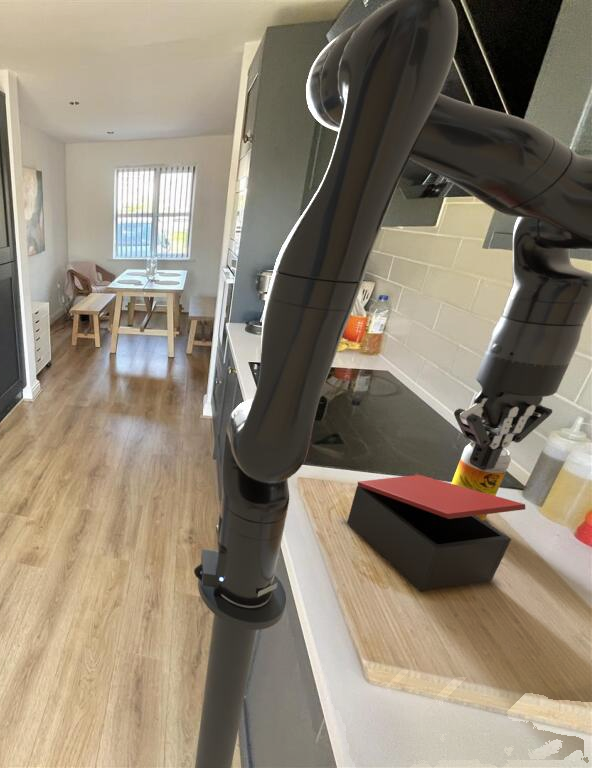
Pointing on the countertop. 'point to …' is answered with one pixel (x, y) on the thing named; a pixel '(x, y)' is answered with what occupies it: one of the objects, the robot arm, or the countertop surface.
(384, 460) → the countertop surface
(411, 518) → the black storage bin
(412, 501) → the lid
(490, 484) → the beer can
